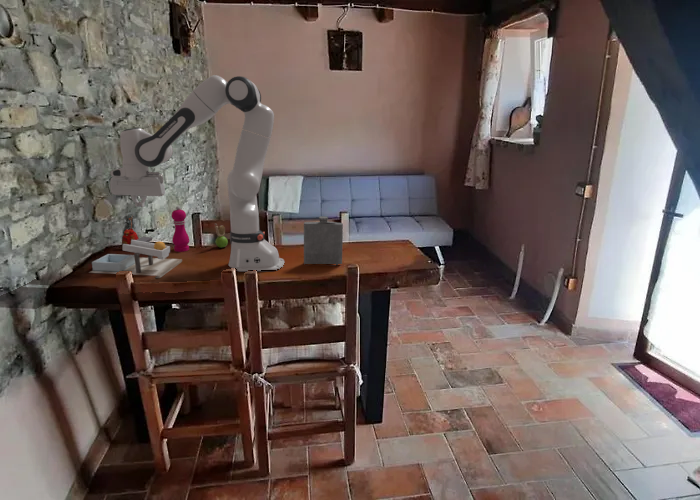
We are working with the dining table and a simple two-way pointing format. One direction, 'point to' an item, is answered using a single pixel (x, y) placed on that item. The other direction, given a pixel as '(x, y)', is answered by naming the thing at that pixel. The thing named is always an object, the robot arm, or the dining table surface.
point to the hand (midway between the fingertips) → (140, 206)
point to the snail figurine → (221, 236)
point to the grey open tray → (113, 263)
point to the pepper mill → (180, 231)
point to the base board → (149, 266)
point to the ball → (159, 245)
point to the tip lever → (146, 248)
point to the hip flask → (323, 242)
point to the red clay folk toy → (129, 235)
